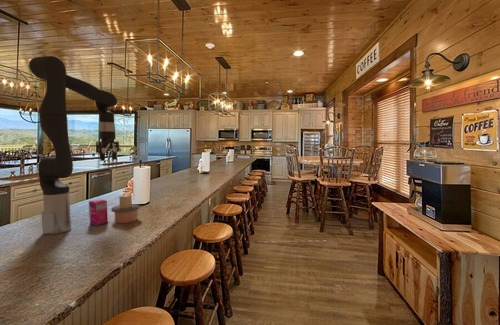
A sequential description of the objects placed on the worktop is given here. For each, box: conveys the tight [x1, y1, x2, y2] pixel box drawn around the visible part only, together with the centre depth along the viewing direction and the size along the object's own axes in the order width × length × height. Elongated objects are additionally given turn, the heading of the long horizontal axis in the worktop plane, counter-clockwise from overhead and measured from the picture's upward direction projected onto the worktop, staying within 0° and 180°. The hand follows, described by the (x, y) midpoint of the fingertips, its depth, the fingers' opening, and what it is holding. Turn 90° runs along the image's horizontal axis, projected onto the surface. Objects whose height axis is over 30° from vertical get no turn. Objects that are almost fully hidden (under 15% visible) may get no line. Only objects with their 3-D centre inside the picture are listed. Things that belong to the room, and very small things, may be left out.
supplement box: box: [88, 199, 109, 227], centre depth 119 cm, size 6×6×12 cm
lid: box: [110, 194, 141, 213], centre depth 125 cm, size 13×13×7 cm
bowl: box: [113, 210, 138, 224], centre depth 126 cm, size 10×10×6 cm
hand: (108, 160), depth 136 cm, fingers open, 8 cm apart
